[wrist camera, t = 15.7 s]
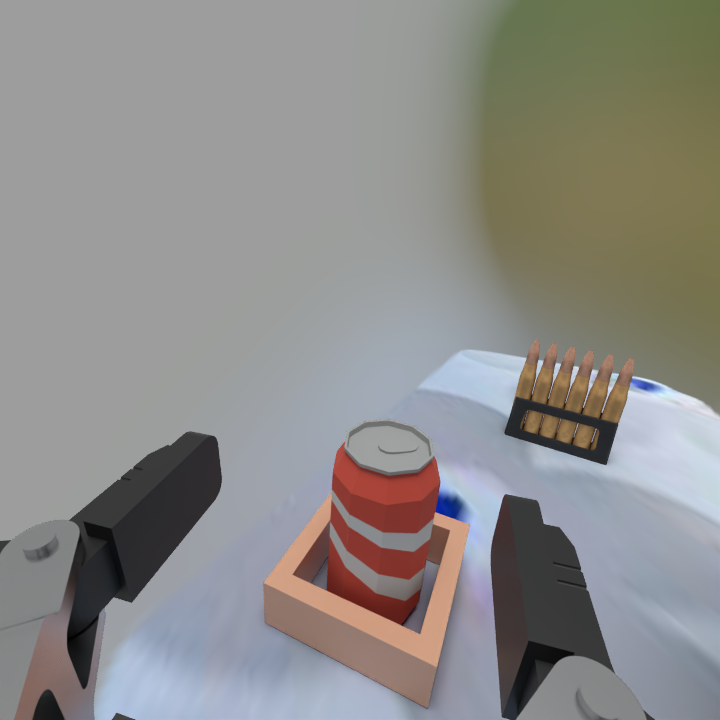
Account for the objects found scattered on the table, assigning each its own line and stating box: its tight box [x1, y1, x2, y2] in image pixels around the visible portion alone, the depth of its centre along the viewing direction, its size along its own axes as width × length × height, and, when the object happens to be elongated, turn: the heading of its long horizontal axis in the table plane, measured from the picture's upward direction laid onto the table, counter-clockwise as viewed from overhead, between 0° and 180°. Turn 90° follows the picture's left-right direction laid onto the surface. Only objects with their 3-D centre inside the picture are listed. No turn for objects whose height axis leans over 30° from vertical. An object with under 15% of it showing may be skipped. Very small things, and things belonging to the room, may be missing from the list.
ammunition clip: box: [505, 339, 634, 465], centre depth 43 cm, size 11×2×12 cm, turn 62°
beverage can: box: [327, 419, 440, 624], centre depth 25 cm, size 6×6×12 cm
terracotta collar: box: [264, 492, 470, 708], centre depth 27 cm, size 10×10×4 cm
